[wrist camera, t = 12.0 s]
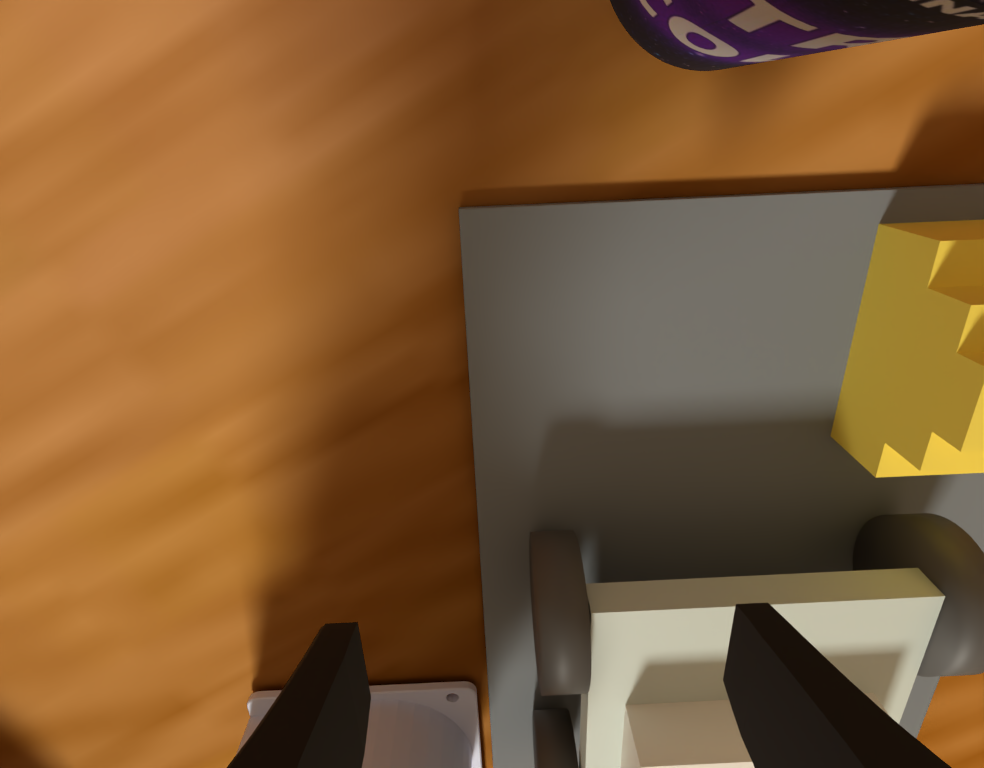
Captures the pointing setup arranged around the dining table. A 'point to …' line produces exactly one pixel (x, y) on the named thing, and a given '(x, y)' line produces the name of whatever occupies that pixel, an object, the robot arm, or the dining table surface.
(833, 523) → the mat
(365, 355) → the dining table surface
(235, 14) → the dining table surface
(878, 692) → the trolley
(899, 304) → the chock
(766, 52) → the beverage can
